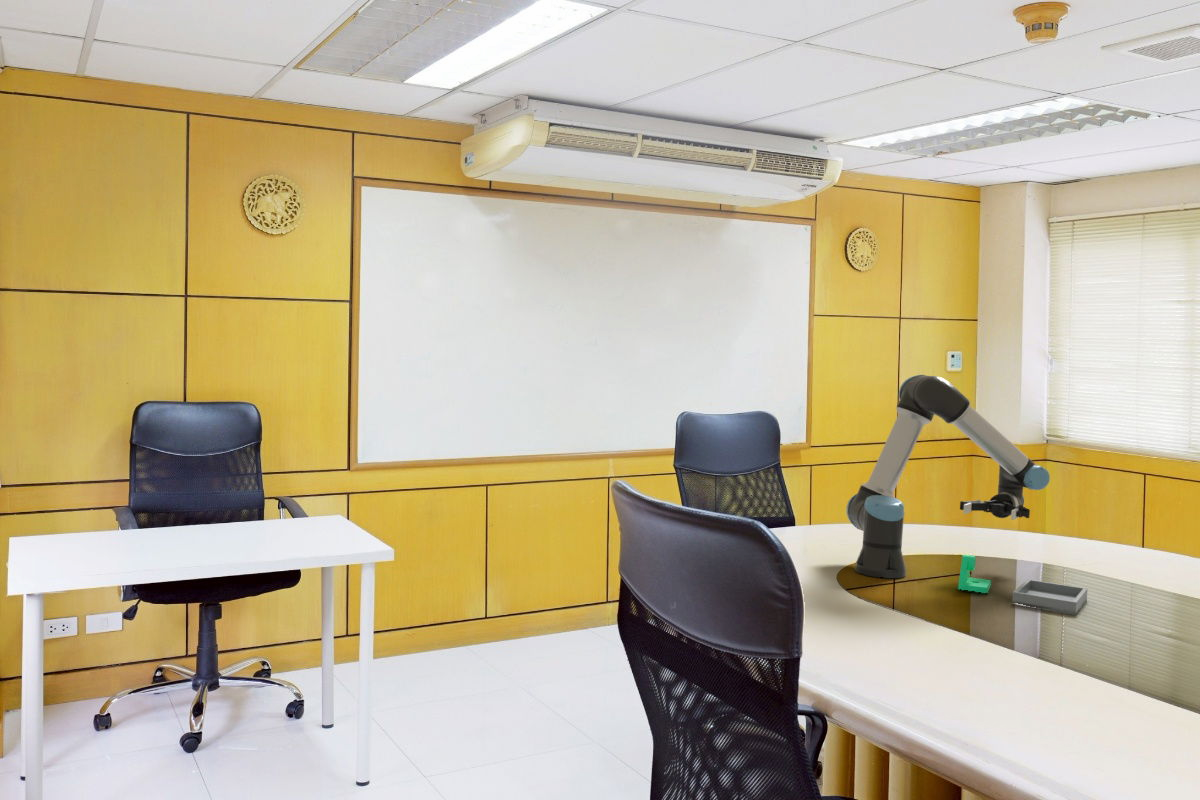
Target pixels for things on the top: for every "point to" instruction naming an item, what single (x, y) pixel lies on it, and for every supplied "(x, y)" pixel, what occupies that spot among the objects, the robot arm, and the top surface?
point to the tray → (1051, 596)
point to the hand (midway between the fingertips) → (988, 512)
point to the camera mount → (966, 580)
